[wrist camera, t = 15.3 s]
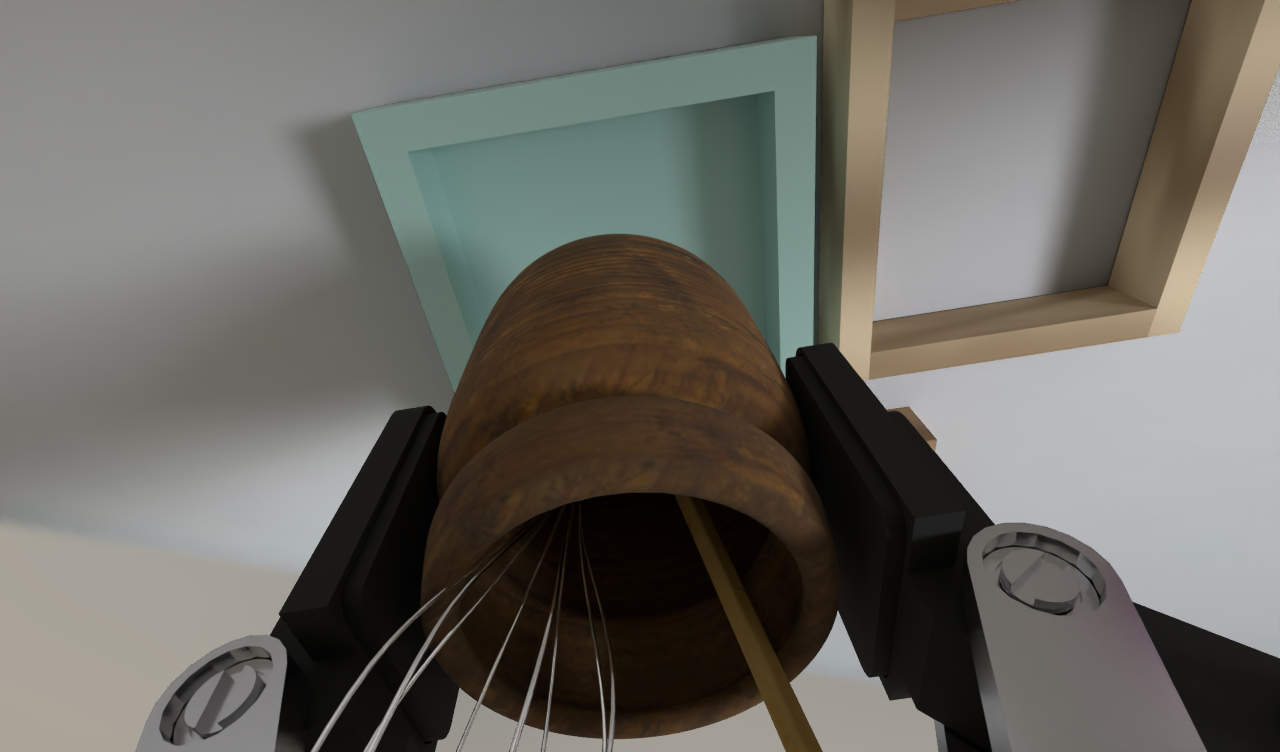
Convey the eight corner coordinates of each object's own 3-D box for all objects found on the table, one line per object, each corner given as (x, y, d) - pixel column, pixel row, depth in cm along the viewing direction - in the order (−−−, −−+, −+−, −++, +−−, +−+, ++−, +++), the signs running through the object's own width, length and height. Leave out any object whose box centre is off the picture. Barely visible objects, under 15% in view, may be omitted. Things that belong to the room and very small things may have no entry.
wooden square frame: (824, -14, 15) (853, -22, 13) (1255, -88, 14) (1344, -107, 13) (818, 355, 20) (838, 384, 18) (1128, 307, 20) (1178, 331, 18)
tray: (385, 104, 15) (350, 114, 13) (786, 36, 15) (816, 35, 13) (495, 428, 21) (483, 472, 19) (790, 383, 21) (812, 422, 19)
